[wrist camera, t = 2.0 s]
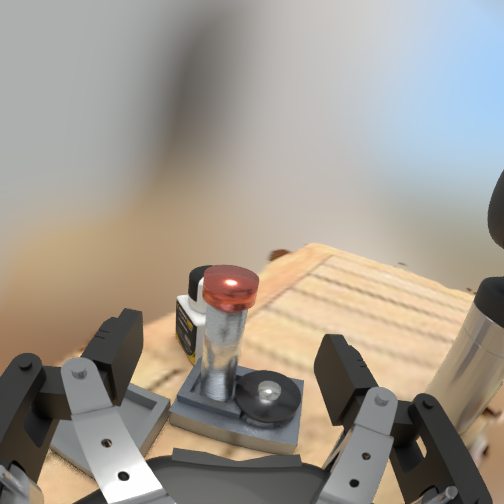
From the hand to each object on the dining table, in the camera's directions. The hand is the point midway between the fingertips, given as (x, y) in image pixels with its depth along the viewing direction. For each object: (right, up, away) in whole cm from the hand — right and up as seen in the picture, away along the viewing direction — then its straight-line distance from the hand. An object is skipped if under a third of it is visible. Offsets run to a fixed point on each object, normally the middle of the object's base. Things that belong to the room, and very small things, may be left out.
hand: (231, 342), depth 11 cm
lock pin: (-3, -11, +16) cm, 20 cm away
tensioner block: (0, -14, +16) cm, 22 cm away
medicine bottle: (-6, -10, +27) cm, 29 cm away
